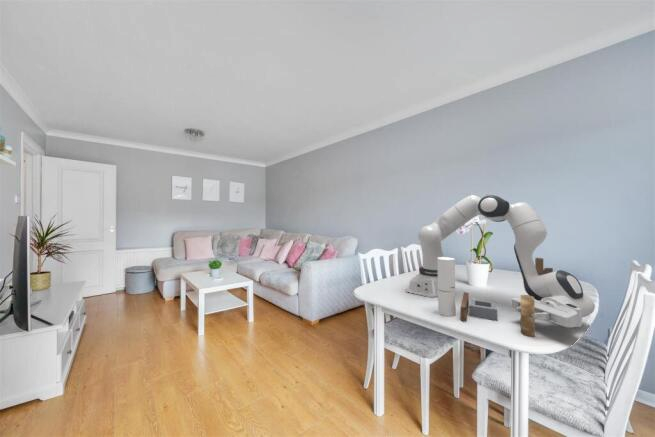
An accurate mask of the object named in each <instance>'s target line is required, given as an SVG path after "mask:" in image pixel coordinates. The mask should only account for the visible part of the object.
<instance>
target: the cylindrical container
mask: <svg viewBox="0 0 655 437" xmlns="http://www.w3.org/2000/svg"><path fill="white" fill-rule="evenodd" d="M437 265H438V296H437V303H438V304H437V306H438V307H437V308H438V309H437V310H438V311H437V312H438V313H437V314H439V315H441V316H444V317H455V316H456V315H457V308H456V306H457V305H456V303H457V301H456V300H457V299H456V258H453V257H448V256H443V257H439V258H437Z"/></svg>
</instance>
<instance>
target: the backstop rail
mask: <svg viewBox="0 0 655 437" xmlns="http://www.w3.org/2000/svg"><path fill="white" fill-rule="evenodd" d="M460 303H461V304H460V322H467V319H468V312H469V307H470V300H469V292H465V291H464V292H463V295H462V299H461V302H460Z"/></svg>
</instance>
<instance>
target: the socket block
mask: <svg viewBox="0 0 655 437" xmlns="http://www.w3.org/2000/svg"><path fill="white" fill-rule="evenodd" d="M469 317H471V318H476V319H477V318H478V319H482V320H483V319H484V320H490V321H493V322H494V321H496V322H498V306H497V302H495V301H489V300H481V299H476V298H470V300H469Z"/></svg>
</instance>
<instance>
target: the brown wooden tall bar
mask: <svg viewBox="0 0 655 437" xmlns="http://www.w3.org/2000/svg"><path fill="white" fill-rule="evenodd" d="M519 298H521V313H520V333H521V335H523V336H525V337H531V338H532V337H535V336H536V329H535V328H536V327H535V325H536V323H535V322H536V321H535V320H536V319H535V318H532V317H531V313H532V312H535V309H534V300H535V299H534V297H533V296H529V295H528V294H521V295H520V297H519Z"/></svg>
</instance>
